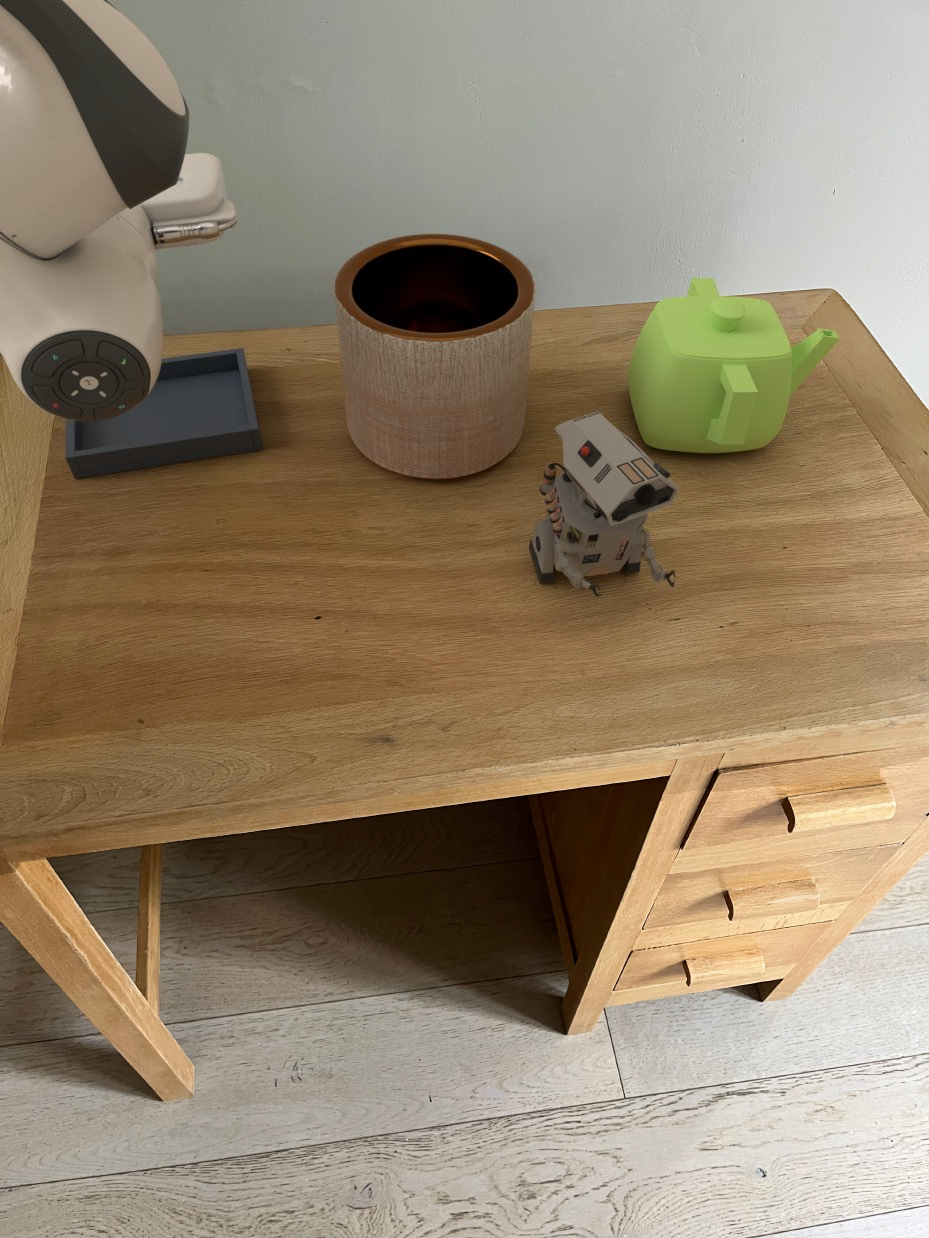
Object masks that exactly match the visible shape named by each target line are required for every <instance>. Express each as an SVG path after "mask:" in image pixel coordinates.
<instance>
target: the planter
mask: <svg viewBox="0 0 929 1238" xmlns="http://www.w3.org/2000/svg"><path fill="white" fill-rule="evenodd" d="M333 286H334V289H333V290H334V303H335V310H336V311H335V312H336V321H337V332H338V343H339V354H340V355H339V356H340V365H341V378H342V389H343V390H342V391H343V402H344V412H345V421H346V426H347V430H348V434H349V437H350V438H351V440H352V442H353V444H354V445H355V447H356V449H358V451H359V452H360V453H361V454H362V455H364V456H365V458H367V459H368V460H370V461H371V462H373V464H376V465H377V466H379V467H381V468H383V469H385V470H387V471H390V472H393V473H396V474H398V475H402V476H405V477H409V478H417V479H421V480H449V479H458V478H462V477H463V478H464V477H467V476H470V475H474V474H478V473H480V472H483V471H486V470H488V469H489V468H491V467H493V466H495V465H496V464H498V463H500V462H501V461H503V460H504V459H505V458H506V457H508V456H509V455H510V454H511V453H512V452H513V450H514V449H515V448H516V447H517V445H518V444H519V442H520V441H521V438H522V435H523V432H524V428H525V423H526V416H527V404H528V403H527V402H528V389H529V377H530V362H531V351H532V338H533V336H532V335H533V327H534V326H533V325H534V313H535V302H536V283H535V279H534V276H533V274H532V272H531V271H530V269H529V268H528V267H527V265H526V264H525V263H524V262H523V261H522V260H521V259H520V258H519V257H517V255H514V254H513V253H512V252H510V251H508V250H506V249H505V248H502V247H501V246H499V245H496V244H493V243H491V242H489V241H486V240H482V239H478V238H476V237H475V238H474V237H470V236H465V235H459V234H450V233H416V234H415V233H414V234H408V235H407V234H406V235H401V236H397V237H393V238H392V237H391V238H389V239H388V238H387V239H385V240H381V241H379V242H375V243H373V244H371V245H369V246H367V247H365V248H363V249H361V250H360V251H358V252H356V253H355V254H353V255H352V256H351V257H349V258H348V259H347V260H346V262H344V263H343V264H342V266H341V267H340V269H339V270H338V272H337V274H336V277H335V279H334V285H333Z"/></svg>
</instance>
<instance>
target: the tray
mask: <svg viewBox="0 0 929 1238" xmlns="http://www.w3.org/2000/svg"><path fill="white" fill-rule="evenodd" d="M262 450H264V446H263V441H262V436H261V430H260V424H259V420H258V414H257V410H256V404H255V400H254V395H253V389H252V384H251V380H250V373H249V370H248V363H247V360H246V354H245V350H244V347H238V348H230V349H223V350H217V351H209V352H202V353H193V354H185V355H179V356H172V357H171V356H170V357H165V358H163V357H162V363H161V368H160V372H159V375H158V378H157V380H156V382H155V385H154V387H153V388H152V390H151V392H150V393H149V395H148V396H147V397H146V398H145V399H144V400H143V401H142V402H141V403H140V404H138V405H137V406H135V407H134V408H132V409H130V410H129V411H127V412H125V413H123V414H121V415H119V416H116V417H113V418H110V419H105V420H100V421H74V420H68V419H65V460H66V462H67V465H68V467H69V469H70V472H71V474H72V476H73V478H74V480H78V479H83V478H90V477H97V476H102V475H103V476H104V475H109V474H115V473H116V474H117V473H121V472H128V471H135V470H141V469H148V468H153V467H160V466H166V465H173V464H179V463H187V462H191V461H198V460H205V459H210V458H211V459H212V458H218V457H223V456H231V455H236V454H243V453H249V452H256V451H262Z"/></svg>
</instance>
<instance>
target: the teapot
mask: <svg viewBox="0 0 929 1238" xmlns="http://www.w3.org/2000/svg"><path fill="white" fill-rule="evenodd" d="M839 341H840V337H839V335H838V333H837V332H836V330H835V329H827V328H820V327H818V328H817V329H816V330H815V331H814V332H813V333H812V334H810V335H808V336H807V337H805V338H804V339H803V340H801V341H799V342H798V343H796V344H795V345H794V346H792V345H791V343H790V340H789V337H788V334H787V333H786V331H785V329H784V326H783V324H782V322H781V320H780V318H779V316H778V314H777V312H776V310H775V308H774V307H773V306H772V304H771V303H770V302H769V301H767V300H763V299H759V298H754V297H753V298H752V297H743V296H727V295H720V294H719V290H718V288H717V284H716V282H715V279H714V278H713V277H692V278H691V280H690V284H689V288H688V290H687V293H686V296H677V297H669V298H664V299H662V300H660V301H658V302H657V303H656V305H655V306H654V307H653V309H652V311H651V313H650V314H649V316H648V318H647V320H646V322H645V323H644V325H643V327H642V329H641V331H640V333H639V334H638V338H637V340H636V342H635V345H634V348H633V350H632V354H631V358H630V361H629V364H628V370H627V384H628V393H629V397H630V402H631V403H630V404H631V408H632V411H633V415H634V419H635V423H636V426H637V429H638V431H639V434H640V437H641V440H643V442H644V443H645V444H646V445H647V446H649V447H651V448H654V449H659V450H663V451H664V450H665V451H671V452H681V453H683V452H684V453H695V454H722V453H724V454H725V453H735V452H746V451H752V450H758V449H761V448H763V447H766V446H767V445H768V444H769V443H770V442H772V440H773V439H775V438H776V436H777V435H778V434H779V432H780V431H781V429H782V427H783V424H784V421H785V419H786V415H787V411H788V406H789V402H790V397H791V395H792V394H793V393H794V392H795V391H796V390H797V389H798V387H800V386H801V384H802V383H803V382H804V381H805V380H806V379H807V377H808V376H809V375H810V374H811V373H812V372H813V371H814V370H815V368H816V367H817V366H818V365H819V364H820V363H821V362H822V360H823V359H824V358H825V357H826V356H827V355H828V354H829V353H830V351H831V350H832V349H833V348H834V347H835V346H836V344H837V343H838V342H839Z"/></svg>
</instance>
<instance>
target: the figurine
mask: <svg viewBox="0 0 929 1238" xmlns="http://www.w3.org/2000/svg"><path fill="white" fill-rule="evenodd" d="M554 431H555V433H556V435H557V438H558V439H559V440H560V441H561V442H562V462H563V465H562V464H561V463H557V462H552V461H551V462H547V463H546V464H545V467H544V470H543V476H542V480H541V485H540V486H539V493H540V494H541V495H542V496H544V504H545V505H546V506H547V508H546V513H547V514H546V517H545V519H543V520H542V519H541V520H536V522H535V523H534V527H533V532H532V539H530V540H529V545H528V549H529V552H530V556H531V559H532V562H533V566H534V568H535V572H536V575H537V578H538V582H539V584H540V585H542V584H543V585H544V584H551V583H555V571H554V568H555V570H556V571H558V572H559V573H561V572H562V573H563V575H564V576H565V577H567V578H568V581H569V583H570V584H571V585H572V586H573V587H574V588H581V586H582V587H583V588H585V589H586V590H588V589H589V590H590V591H592V593H593V595H594V597H595V598H598V597H601V596H603V593H597V590H598V591H599V592H602V591H601V590H602V589H601V588H600V586H599V584H598V583H595V584H592V583H590V582H588V580H585V577H592V576H601V575H608V574H610V573H616V572H617V573H618V572H620V571H621V570H622V569H624V573H625V574H626V575H628V574H629V575H630V574H637V573H640V572H641V565H642V563H641V560H642V561H644V562H646V564H647V566H648V567H649V569H650V574H651V577H652V578H653V580H654V581H655V582H656V583H661V581H662V580H663V581H665V580H666V581H667V583H668V584H669V586H670V587H671V588H674V585H675V580H676V579H677V577H676V573H675V570H674V569H673V570H671V571H670V572H666V571H665V569H664V568H663V566H662V564H659V562H658V560H657V558H656V557H655V555H656V552H655V549H653V548H652V547H651V546H650V543H651V535H650V532H649V530H648V529H644V525H645V523H646V520H647V519H648V516H649V514H650V513H652V512H653V513H654V512H655V511H658V510H661V509H663V508H665V507H666V508H667V507H668V506H671V505H673V503H674V501H675V500H676V497H677V495H678V493H679V492H680V490H681V489H680V487H679V486H677V485H676V484H675V482H674V481H673V480H672V479H671V478H670V477H671V473H670V472H669V471H668V470H667V469H665V468H664V467H663V466H661V464H659V463H658V462H656V461H655V462H654V461H653V460H652V459H651V458H650V457H649V456H648V455H647V454H646V453H645V452H644V451H643V450H642V449H641V448H640V446H639V445H638V444H636V442H635V441H633V440H632V438H631V437H629V436H627V435H626V434H625V433H623V432H622V431H621V430H620V429H619V428H618V427H616V426H615V425H614V424H613V423H611V421H609V420H608V419H607V418H606V417H605V416H604V415H603V414H602V413H601V412H600V411H599V410H595V411H593V412H590V413H587V414H584V415H580V416H577V417H575V418H572V419H571V418H570V420H566V421H564V422H562V423H559V424H557V425H556V427H555V428H554ZM558 467H559V468H561V469H562V470H563V471H562V472H561V473H560V475H559V476H557V470H558ZM672 576H673V577H674V579H675V580H674V579H672V580H671V579H670V578H671V577H672Z"/></svg>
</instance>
